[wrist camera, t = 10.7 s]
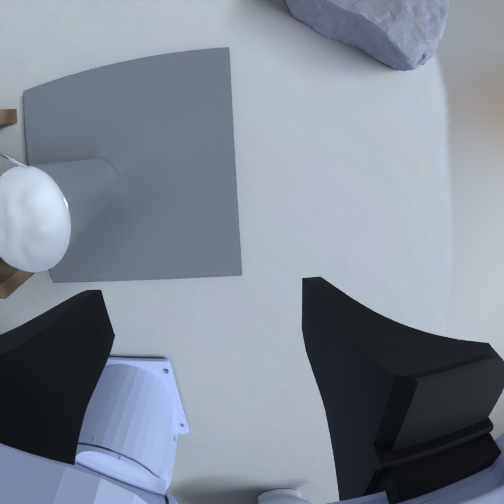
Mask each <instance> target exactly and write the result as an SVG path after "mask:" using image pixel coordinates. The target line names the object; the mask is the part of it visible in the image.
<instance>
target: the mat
mask: <svg viewBox="0 0 504 504" xmlns="http://www.w3.org/2000/svg"><path fill="white" fill-rule="evenodd" d="M24 117H25V133H26V144H27V154H28V163H29V165H35V164H45V163H59V162H68V161H76V160H84V159H92V158H101V159H103V160H105V161H106V162H108V163H110V164H112V165H113V166H114V169H115V171H116V173H117V175H118V178H119V180H120V181H119V187H118V194H117V197H116V198H115V199H114V200H113V201H112V202H111V203H110V204H109V205H108V207H107V208H106V209H105V210H104V211H103V212H102V213H101V214H100V215H99V216H98V217H97V218H95V219H94V221H93V222H92V223H91V224H90V225H89V226H88V227H87V228H86V229H85V230H84V231H83V233H82V234H81V235H80V237H79V238H78V239H77V240H76V241H75V243H74V244H73V245H72V246H71V247H70V249H69V250H68V251H67V252H66V254H65V255H64V256H63V258H62V259H61V260H60V261H59V263H57V264H56V265H55V266H54V267H52V268H50V269H49V270H50V273H51V277H52V280H53V283H60V282H97V281H128V280H154V279H178V278H200V277H220V276H239V275H242V265H241V250H240V234H239V218H238V202H237V185H236V168H235V150H234V132H233V114H232V95H231V75H230V54H229V47H226V48H213V49H203V50H193V51H185V52H177V53H170V54H163V55H157V56H151V57H146V58H140V59H135V60H130V61H125V62H120V63H116V64H111V65H107V66H103V67H99V68H95V69H91V70H87V71H84V72H80V73H77V74H73V75H70V76H66V77H63V78H60V79H57V80H54V81H51V82H48V83H45V84H42V85H39V86H36V87H33V88H31V89H28V90H25V91H24Z"/></svg>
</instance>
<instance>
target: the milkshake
mask: <svg viewBox="0 0 504 504" xmlns="http://www.w3.org/2000/svg"><path fill="white" fill-rule="evenodd" d="M0 156H2V157H4V158H6V159H7V160H9V161H11V162H13V163H15V164H17V165H19V166H17V167H14V168H11V169H9V170H7V171H5V172H4V173H3V174H2V175H1V176H0V256H1V258H2V259H3V260H4V261H5V262H6V263H8V264H9V265H11V266H13V267H15V268H18V269H20V270H23V271H26V272H32V273H37V272H43V271H46V270H48V269H50V268H52V267H54V266H55V265H56V264H57V263H59V261H60V260H61V259H62V258H63V256H64V255H65V254H66V252H67V251H68V250H69V249H70V247H71V246H72V245H73V244H74V243H75V241H76V240H77V239H78V238H79V237H80V235H81V234H82V233H83V231H84V230H85V229H86V228H87V227H88V226H89V225H90V224H91V223H92V222H93V221H94V219H95V218H97V217H98V216H99V215H100V214H101V213H102V212H103V211H104V210H105V209H106V208H107V207H108V205H109V204H110V203H111V202H112V201H113V200H114V199H115V198H116V197H117V194H118V187H119V181H120V180H119V178H118V175H117V173H116V171H115V169H114V166H113V165H112V164H110V163H108V162H106V161H105V160H103V159H101V158H92V159H84V160H76V161H68V162H59V163H45V164H35V165H25V164H23V163H21V162H19V161H18V160H16V159H14V158H12V157H10V156H8V155H7V154H5V153H2V152H0Z"/></svg>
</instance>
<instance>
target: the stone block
mask: <svg viewBox="0 0 504 504" xmlns="http://www.w3.org/2000/svg"><path fill="white" fill-rule="evenodd" d="M285 1H286V4H287V7H288V8H289V9H290V12H291V14H292V16H294V17H295V18H296V19H298V20H299V21H301V22H304V23H305V24H306V25H308V26H309V27H311V28H312V29H313V30H315V31H316V32H318V33H319V34H321V35H322V36H324V37H327V38H331V39H334V40H337V41H340V42H342V43H343V44H347V45H353V46H355V47H357V48H359V49H361V50H363V51H364V52H365V53H366V54H368V55H370V56H371V57H373V58H375V59H377V60H379V61H381V62H382V63H384V64H386V65H389V66H391V67H392V68H394V69H397V70H400V71H406V70H414V69H415V68H417V67H419V66H420V65H424V64H425V63H426V61H427V60H428V59H430V58H431V57H432V56H433V55H434V52H435V50H436V48H437V46H438V44H439V42H440V40H441V38H442V35H443V32H444V29H445V24H446V21H447V16H448V10H449V8H448V7H449V6H448V3H449V0H285Z"/></svg>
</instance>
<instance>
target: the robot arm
mask: <svg viewBox="0 0 504 504" xmlns="http://www.w3.org/2000/svg"><path fill="white" fill-rule="evenodd" d="M302 332H303V337H304V343H305V348H306V352H307V355H308V358H309V361H310V364H311V367H312V370H313V373H314V376H315V379H316V382H317V385H318V388H319V391H320V394H321V397H322V400H323V404H324V407H325V411H326V416H327V421H328V427H329V432H330V437H331V443H332V449H333V455H334V461H335V468H336V475H337V483H338V491H339V500H340V501H339V502H333V503H328V504H504V433H503V434H501V435H500V436H499V437H498V438H497V439H496V440H495V441H494V439H493V437H492V436H491V434H490V433H489V432H491V431H492V429H493V424H492V422H491V420H490V419H489V417H488V416H489V414H490V413H491V411H492V409H493V408H494V406H495V404H496V402H497V401H498V398H499V397H500V395H501V393H502V391H503V388H504V361H503V359H502V358H501V357H500V356H499V355H498V354H497V352H496V351H495V350H494V349H493V348H492V347H491V345H490V344H489V343H483V342H474V341H465V340H458V339H453V338H448V337H443V336H439V335H434V334H431V333H427V332H423V331H420V330H417V329H414V328H411V327H408V326H406V325H403V324H400V323H398V322H396V321H393V320H391V319H389V318H387V317H384V316H382V315H380V314H378V313H376V312H374V311H373V310H371V309H369V308H367V307H366V306H364V305H362V304H360V303H359V302H357V301H356V300H354V299H352V298H351V297H349V296H348V295H346V294H345V293H343V292H342V291H340V290H339V289H338V288H336V287H335V286H333V285H332V284H331V283H329V282H328V281H326V280H325V279H323V278H321V277H311V278H302ZM114 337H115V335H114V332H113V329H112V325H111V322H110V319H109V316H108V313H107V309H106V306H105V302H104V299H103V295H102V292H101V290H86V291H84V292H81V293H79V294H77V295H75V296H73V297H71V298H69V299H67V300H66V301H64V302H62V303H60V304H59V305H57V306H55V307H53V308H52V309H50V310H48V311H47V312H45V313H43V314H41V315H39V316H37V317H36V318H34V319H32V320H30V321H28V322H27V323H25V324H23V325H21V326H19V327H17V328H15V329H13V330H10V331H8V332H6V333H4V334H1V335H0V504H177V501H176V499H175V498H174V496H172V495H169V494H165V493H166V490H167V488H168V487H169V485H170V483H171V479H172V473H173V466H174V460H175V453H176V447H177V440H178V434H187V433H189V427H188V423H187V420H186V417H185V413H184V410H183V406H182V403H181V399H180V396H179V392H178V388H177V385H176V381H175V377H174V373H173V370H172V366H171V363H170V361H169V360H167V359H148V358H118V357H109V355H110V352H111V349H112V345H113V341H114ZM164 369H167V370H164Z"/></svg>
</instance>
